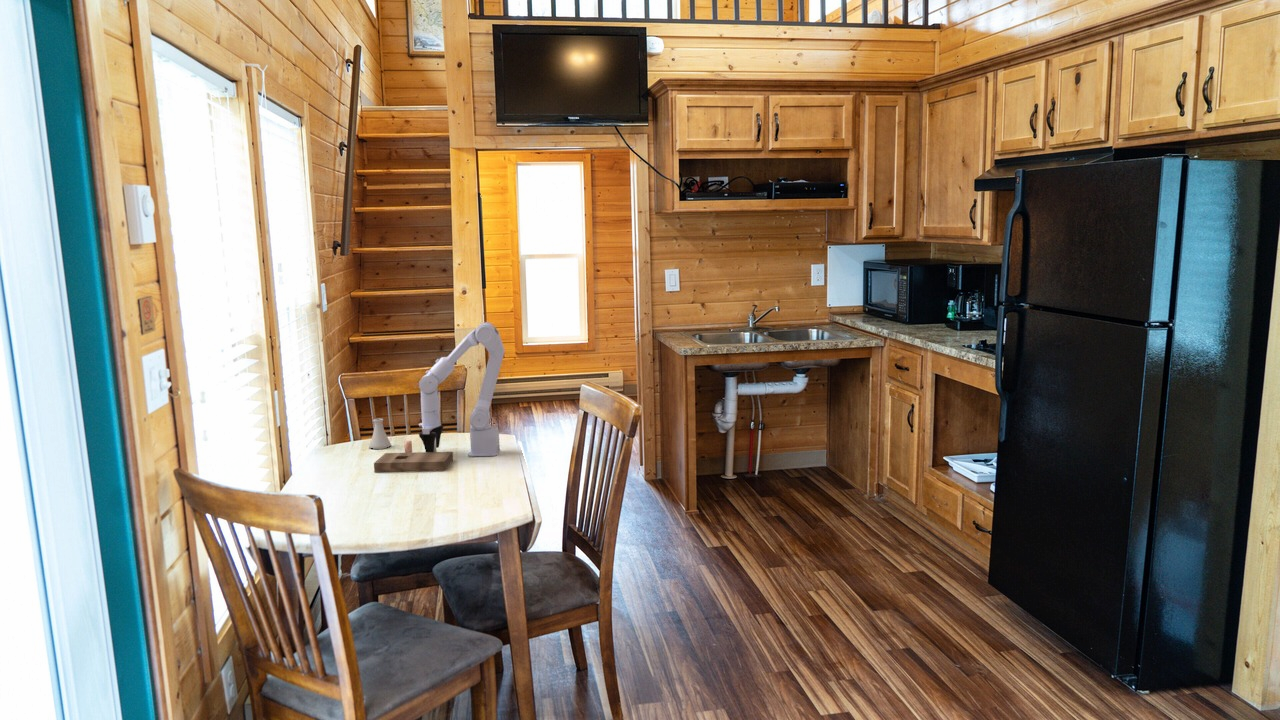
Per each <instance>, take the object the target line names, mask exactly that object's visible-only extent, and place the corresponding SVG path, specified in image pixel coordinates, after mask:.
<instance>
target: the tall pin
mask: <svg viewBox="0 0 1280 720" xmlns="http://www.w3.org/2000/svg"><path fill="white" fill-rule="evenodd" d="M432 433H435V432H432ZM434 452H438V451H437V448H436V438H435V442H434Z"/></svg>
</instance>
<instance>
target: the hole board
mask: <svg viewBox="0 0 1280 720" xmlns="http://www.w3.org/2000/svg"><path fill="white" fill-rule="evenodd" d="M453 453H454V452H453V451H437V452H426V451H423V452H422V451H421V452H420V451H419V452H418V451H417V452H412V453H405V452H386V453H383V454H382V456H380V457H379V458H378V459H377V460H376V461H375V462H373V471H374V473H402V472H404V471H415V472H445V471H446V470H447V469H448V468H449V466H450V465H451V464H452V463H453V461H454V454H453ZM451 462H452V463H451ZM450 463H451V464H450ZM404 473H405V472H404Z"/></svg>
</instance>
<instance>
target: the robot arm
mask: <svg viewBox="0 0 1280 720" xmlns="http://www.w3.org/2000/svg"><path fill="white" fill-rule="evenodd" d="M479 344H481V345H482V346H484V347H485V349H486V350H487V352H488V353H489V357H488V359H487V360H488V361H487V364H486V369H485V372H484V377H483V379H482V382H481V387H480V391H479V395H478V398H477V402H476V405H475V407H474V408H473V409H472V411H471V414H470V417H469V424H470V426H469V439H470V452H469V453H468V455H467V456H468V457H496V456H497V455H498V454H499V452H500V450H501V448H500V447H501V446H500V432H499V431H500V430H499V428H498V427H493V426H492V424H491V423H490V417H491V411H490V408H491V404H492V400H493V397H494V393H495V389H496V385H497V381H498V377H499V373H500V369H501V367H502V363H503V359H504V355H505V347H504V343H503V341H502V339H501V335H500V332H499V330H498V329H497V327H495V326H494V324H493V323H491V322H489V321H483V322H482V323H480V324H479V325H478V326H477V328H474V329H473V330H472V331H471V332H469V333H467V335H465V336H464V338H462V340H461V341H460V342H459V343H458V345H457V346H456V347H455V348H454V349H453V350H452V351H451V353H449V354H448V356H441V357H440V358H437V359H436V360H435V364H433V366H432V367H430V369H429V370H428V369H427V370H426V371H425V375H423V376H422V377H421V378H420V380H419V382H418V387H419V390H420V406H421V407H420V409H421V422H420V423H418V426H419V427H422V431H421V432H419V433H418V436H419V438H420V439H421V441H422V443H423V447H424V450H425V452H434V442H435V438H436V449H438V448H439V446H440V442H441V436H442V432H443V429H444V428H445V427H444V425H441V418H440V401H439V400H440V399H439V393H438V391H439V390H438V388H439V387H438V386H439V385H440V384H442V383H443V382H444V381H445V380H446V379H447V377H448V376H449V375H450V374H452V372H453V371H454V370H455V368H456V367H455V363H456V362H457V361H458V360H460V358H461V357H462V356H464V354H465V353H466V352H467V351H468V350H470V348H472V347H475V346H479ZM432 432H435V433H432Z"/></svg>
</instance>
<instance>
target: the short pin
mask: <svg viewBox="0 0 1280 720" xmlns="http://www.w3.org/2000/svg"><path fill="white" fill-rule="evenodd" d="M403 444H404V453H413V446H412V445H413V444H412V440H405V441H404V442H403Z"/></svg>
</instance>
